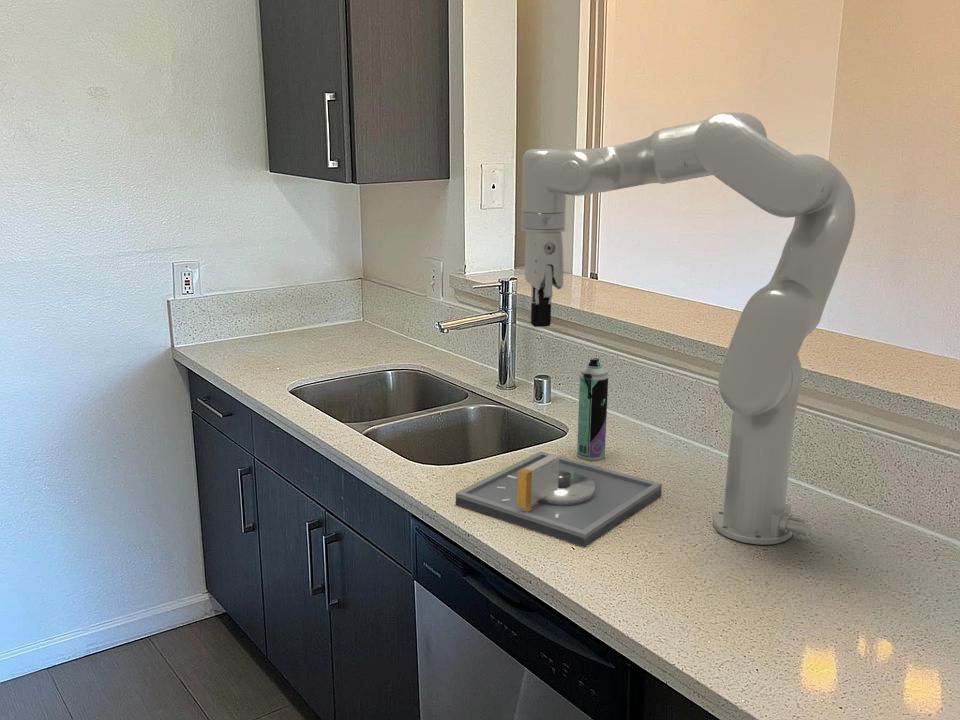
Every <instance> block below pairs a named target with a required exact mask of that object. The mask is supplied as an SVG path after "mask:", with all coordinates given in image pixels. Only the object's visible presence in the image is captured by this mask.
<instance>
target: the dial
mask: <svg viewBox="0 0 960 720" xmlns="http://www.w3.org/2000/svg"><path fill="white" fill-rule="evenodd" d="M550 454H551V455H549V456H547V457H545V458H543V459H541V460H539V461H537V462H535V463H533V464H532V465H530V466H528V467H526V468H523V469H521V470H519V471H518V488H517V506H520V507H523V508H527V507H529V506H531V504H533V503H535V502H537V501H538V502H541V503H545V504H550V505H559V506H569V505H577V504H582V503H585V502H587V501H589V500H591V499H592V498H593V497H594V495H595V484H594V482H593V481H592V480H591V479H589V478H588V477H586V476H583V475H580V474H577V473H572V472H566V471H559V455H556V454H552V453H550Z"/></svg>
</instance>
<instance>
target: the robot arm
mask: <svg viewBox="0 0 960 720" xmlns="http://www.w3.org/2000/svg"><path fill="white" fill-rule="evenodd" d="M767 135H768V133H767V131H766V128H765V126H764V125H763V123H762V122H761V120H760V119H758V118H757V117H756V116H754V115H752V114H749V113H745V112H720V113H717V114H714V115H711V116H709V117H708V118H706V119H703V120H702V119H701V120H698V121H694V122H693V121H692V122H689V123H683V124H679V125H674V126H670V127H669V126H668V127H664V128H661V129H660V128H659V129H657V130H655V131H654V132H653V133H651V135H649V136H648V137H645V138H641V139H639V140H638V139H636V140H634V141H629V142H624V143H620V144H615V145H610V146H604V147H593V148H592V147H590V148H580V149H579V148H578V149H577V148H576V149H570V150H561V149H558V148H532V149H527V151H525V152H524V153H523V156H522V175H521V176H522V177H521V178H522V180H521V181H522V182H521V185H522V187H521V227H520V228H521V229H520V230H521V231H523V232H525V233H526V235H525V237H526V238H525V246H524V247H525V248H524V249H525V251H524V278H525V281H526V282H527V283H528V285H529V284H530V287H531V290H530V292H531V306H530V307H531V308H530V309H531V310H530V311H531V313H530V324H531V325H532V326H533V327H536V328H539V327H550V326H551V324H552V323H551V322H552V317H551V316H552V299H553V286H554V287H555V288H556V289H558V290H561V289H562V288H564V248H563V247H564V245H563V244H564V243H563V237H562V233H563V232H565V231H566V230H565V228H566V203H567V202H566V200H567V195H568V196H573V197H576V196H577V197H578V196H579V197H582V196H588V195H592V194H594V195H595V194H599V193H606V192H611V191H615V190H616V191H617V190H622V189H627V188H633V187H639V186H645V185H650V184H660V185H661V184H662V185H666V184H672V183H676V182H682V181H689V180H693V179H694V180H695V179H698V178H704V177H705V178H706V177H709V176H714V177H715V178H716V179H718V180H719V181H720V182H722V183H723V184H725V185H726V186H727V187H729V188H730V189H732V190H734V191H735V192H736V193H738V194H739V195H740V196H742V197H744V199H746V200H747V201H749V202H750V203H752V204H754V205H755V206H756V207H757V208H759V209H761V210H763V211H765V212H766V213H768V214H771V215H772V216H775V217H777V218H778V217H779V218H786V219H787V218H788V219H789V218H794V223H793V227H792V229H791V232H790V233H789V235H788V237H787V239H786V241H785V243H784V246H783V249H782V251H781V256H780V258H779V260H778V263H777V266H776V268H775V270H774V273H773V275H772V277H771V279H770V280H769V282H768V283H767V284H766V285H764V286H763V287H761V288H760V289H759V290H757V291H756V292H754V294H752V296H751V297H750V298H749V299H748V300H747V302H746V304H745V306H744V307H743V310H742V311H741V313H740V317H739V318H738V322H737V324H736V327H735V330H734V332H733V335H732V337H731V340H730V343H729V346H728V349H727V351H726V353H725V356H724V359H723V362H722V364H721V367H720V370H719V374H718V390H719V393H720V396H721V399H722V400H723V402H724V403H725V405H726V406H727V407H728V408H729V409H730V410H731V411H732V415H731V421H730V422H731V423H730V431H729V433H730V434H729V442H728V443H729V445H728V453H727V468H726V478H725V489H724V500H723V501H724V502H723V503H724V505H723V508H722V509H720V510H718V511H717V512H716V513H714V515H713V520H712V525H713V527H714V529H715V530H716V531H717V532H718V533H720V534H721V535H723V536H724V537H727V538H729V539H731V540H734V541H737V542H741V543H745V544H751V545H760V546H761V545H762V546H763V545H766V546H768V545H776V544H781V543H784V542H786V541H788V540H790V539H791V537H792V536H793V534H797V535H800V536H804V537H808V535H809V534H810V530H811V524H809V523H808V518H805V517H801V516H796V515H794V514H793V513H792V512H791V510H792V505H791V504H788V503H787V491H788V481H789V474H790V473H789V471H790V462H791V453H792V443H793V437H794V428H795V427H794V426H795V420H796V419H795V418H796V411H797V407H798V401H799V396H800V390H801V385H802V375H803V372H802V371H803V370H802V364H801V360H800V357H799V352H800V350H801V348H802V345H803V343H804V341H805V339H806V338H807V337H808V336H809V335H810V334H812V332H813V331H814V330H816V328H817V327H818V325H819V324H820V322H821V319H822V316H823V314H824V313H823V312H824V311H825V307H826V305H827V302H828V299H829V297H830V294H831V292H832V289H833V287H834V283H835V281H836V280H837V276H838V274H839V272H840V268H841V265H842V262H843V260H844V257H845V254H846V251H847V249H848V247H849V244H850V241H851V238H852V235H853V230H854V227H855V220H856V203H855V198H854V194H853V190H852V187H851V185H850V183H849V181H848V180H847V178H846V177H845V176H844V175H843V173H842V172H841V171H840V170H839V169H838V167H836V166H835V164H833V163H831V162H830V161H829V160H827V159H825V158H824V157H821V156H819V155H815V154H805V153H804V154H797V155H795V154H792V153H791V152H789V151H788V150H786V149H785V148H783V147H781V146H780V145H778V144H777V143H775V142H773V140H770V139H769V138H768V136H767Z"/></svg>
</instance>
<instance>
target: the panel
mask: <svg viewBox="0 0 960 720" xmlns="http://www.w3.org/2000/svg"><path fill="white" fill-rule="evenodd" d="M551 454H552V453H549V452H545V451H539V452H536V453H534V454H532V455H531V456H528V457H526V458H524V459H522V460H520V461H518V462H516V463H513V464H512V465H510V466H508V467H506V468H504V469H501V470H500V471H498V472H496V473H494V474H491V475H489V476H488V477H486V478H483V479H482V480H479V481H478V482H475V483H474V484H471V485H469V486H467V487H465V488H463V489H461V490H460V491H457V492H455V505H456V506H458V505H459V506H458V507H461V506H462V508H464V507H465V509H467V508H468V510H470V509H471V511H473V510H474V512H476V513H479V512H480V514H482V513H483V515H485V514H486V516H489V517H491V516H492V517H491V518H494V519H496V520H497V519H498V520H500V521H504V522H507V523H509V524H512V525H517V526H519V527H522V528H525V529H529V530H531V531H534V532H537V533H540V534H543V535H546V536H549V537H552V538H555V539H559V540H562V541H564V542H567V543H570V544H573V545H577V546H579V547H582V548H586V547H587V546H589V545H590V544H592V543H593V542H595V541H596V540H597V539H600V538H601V537H602V536H604V535H605V534H607V532H610V531H611V530H612V529H614V528H615V527H617V526H618V525H620V524H622V523H623V522H625V520H628V519H629V518H630V517H632V516H633V515H634V514H636V513H638V512H639V511H641V510H642V509H643V508H645V507H647V506H648V505H650V504H651V503H653V502H654V501H656V500H657V499H658V498H660V497H661V496H662V493H663V492H662V489H663V484H662V483H660V482H656V481H653V480H649V479H645V478H642V477H637V476H635V475H630V474H627V473H624V472H623V473H622V472H619V471H616V470H615V471H614V470H611V469H607V468H603V467H601V466H597V465H593V464H589V463H585V462H581V461H578V460H574V459H570V458H567V457H562V456H561V455H560V456H559V455H558V456H559V471H566V472H572V473H577V474H580V475H583V476H586V477H588V478H589V479H591V480H592V481H593V482H594V484H595V495H594V497H593V498H592V499H591V500H589V501H587V502H585V503H582V504H577V505H569V506H559V505H550V504H545V503H541V502H538V501H537V502H535V503H533V504H531V506H529V507H527V508H523V507H520V506H517V488H518V471H519V470H521V469H523V468H526V467H528V466H530V465H532V464H533V463H535V462H537V461H539V460H541V459H543V458H545V457H547V456H549V455H551Z"/></svg>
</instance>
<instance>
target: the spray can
mask: <svg viewBox="0 0 960 720" xmlns="http://www.w3.org/2000/svg"><path fill="white" fill-rule="evenodd" d="M578 388H579V389H578V390H579V393H578V395H579V396H578V418H577V419H578V420H577V422H578V423H577V424H578V425H577V446H576V448H577V449H576V451H577V452H576V457H578V459H581V460H584V461H586V462H587V461H588V462H596V461H597V462H598V461H601V460H603V459H605V456H606V440H607V414H608V395H609V394H608V393H609V392H608V391H609V370H608V369H605V368H604V367H603V365H602V364H601V362H600V359H599V358H597V357H595V358H592V359H590V360H589V362H588V364H587V365H586V366H585V367H583V368H582V369H580V373H579V387H578Z"/></svg>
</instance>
